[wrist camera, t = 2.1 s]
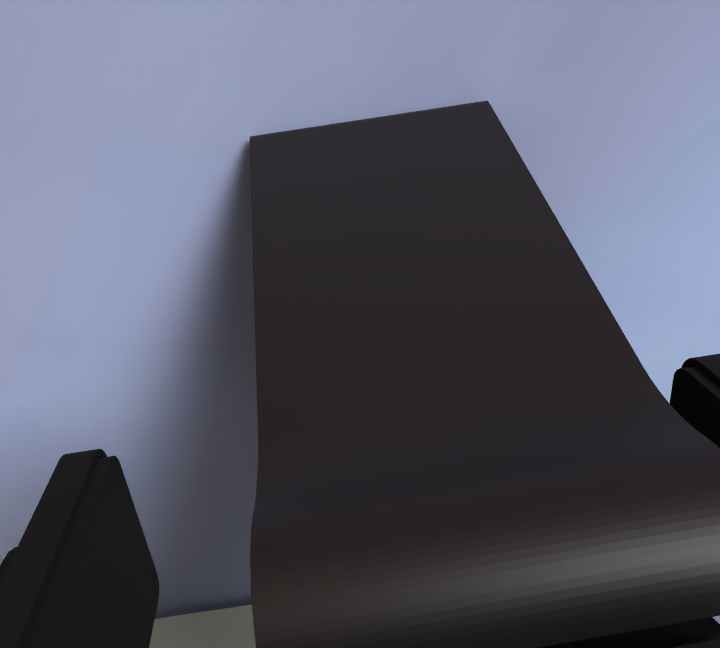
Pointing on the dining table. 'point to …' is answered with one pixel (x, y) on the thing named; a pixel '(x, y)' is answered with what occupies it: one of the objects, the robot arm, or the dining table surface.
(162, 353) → the dining table surface
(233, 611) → the door
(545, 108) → the dining table surface
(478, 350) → the phone stand
